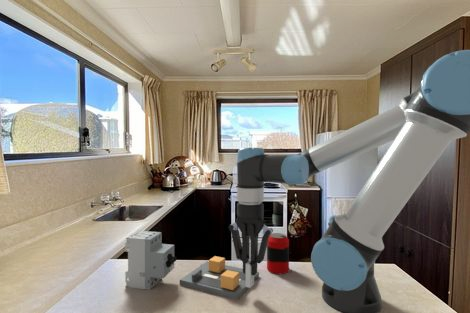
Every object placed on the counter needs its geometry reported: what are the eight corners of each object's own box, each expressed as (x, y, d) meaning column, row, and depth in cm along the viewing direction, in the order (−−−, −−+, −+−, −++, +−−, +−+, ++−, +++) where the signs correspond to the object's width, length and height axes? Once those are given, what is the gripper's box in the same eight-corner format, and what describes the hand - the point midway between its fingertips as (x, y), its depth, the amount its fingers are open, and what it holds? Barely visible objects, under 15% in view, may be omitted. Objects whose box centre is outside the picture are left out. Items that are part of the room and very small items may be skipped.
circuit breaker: (169, 291, 80) (168, 240, 80) (125, 286, 83) (125, 237, 83) (179, 280, 87) (179, 233, 87) (138, 275, 90) (138, 230, 90)
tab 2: (239, 284, 81) (239, 272, 81) (233, 290, 77) (233, 278, 77) (227, 281, 83) (227, 269, 83) (220, 287, 79) (220, 275, 79)
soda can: (284, 276, 90) (284, 240, 90) (263, 271, 94) (263, 236, 94) (292, 268, 96) (292, 234, 96) (272, 263, 100) (272, 231, 100)
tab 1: (225, 268, 92) (225, 257, 92) (219, 272, 88) (219, 262, 88) (214, 266, 94) (214, 256, 94) (208, 270, 90) (208, 260, 90)
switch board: (258, 276, 90) (258, 265, 90) (237, 299, 75) (237, 287, 75) (207, 265, 99) (207, 255, 99) (179, 284, 84) (179, 273, 84)
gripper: (276, 202, 77) (276, 284, 78) (235, 198, 83) (235, 275, 83) (267, 206, 71) (267, 297, 71) (223, 202, 76) (223, 285, 77)
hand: (249, 285), depth 77 cm, fingers closed
